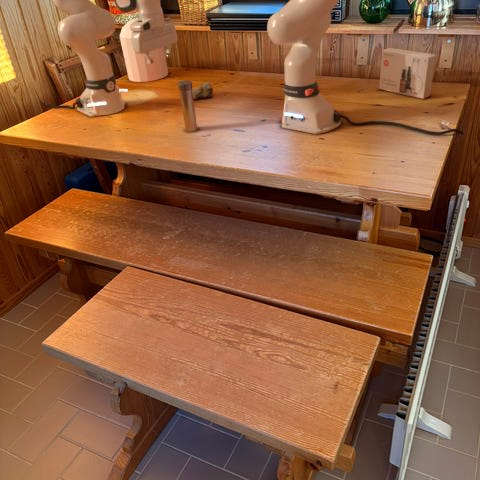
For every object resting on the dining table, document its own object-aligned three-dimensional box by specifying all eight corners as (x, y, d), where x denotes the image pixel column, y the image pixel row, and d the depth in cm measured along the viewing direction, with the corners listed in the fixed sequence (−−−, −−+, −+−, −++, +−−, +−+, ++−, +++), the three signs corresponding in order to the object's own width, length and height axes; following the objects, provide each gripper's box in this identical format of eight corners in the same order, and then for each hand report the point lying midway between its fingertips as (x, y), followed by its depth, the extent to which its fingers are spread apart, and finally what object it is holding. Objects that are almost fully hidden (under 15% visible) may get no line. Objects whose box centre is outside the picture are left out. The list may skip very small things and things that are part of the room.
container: (160, 81, 233) (149, 21, 217) (121, 82, 238) (108, 23, 222) (174, 69, 249) (165, 13, 233) (138, 70, 254) (126, 15, 238)
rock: (187, 97, 210) (190, 100, 202) (185, 83, 208) (188, 85, 199) (210, 94, 212) (214, 97, 204) (208, 80, 210) (212, 82, 201)
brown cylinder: (186, 132, 173) (178, 86, 163) (185, 128, 177) (178, 82, 167) (198, 130, 173) (191, 84, 164) (196, 126, 177) (190, 81, 167)
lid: (179, 91, 164) (178, 85, 163) (178, 87, 168) (177, 81, 167) (193, 89, 164) (192, 83, 163) (191, 85, 168) (190, 79, 167)
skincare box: (377, 89, 194) (381, 50, 185) (385, 86, 197) (389, 47, 188) (423, 99, 180) (429, 56, 171) (430, 95, 183) (437, 53, 174)
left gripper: (166, 16, 179) (172, 53, 187) (125, 26, 167) (134, 66, 174) (178, 16, 176) (183, 54, 183) (137, 27, 163) (145, 67, 171)
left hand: (159, 60), depth 179 cm, fingers open, 8 cm apart
